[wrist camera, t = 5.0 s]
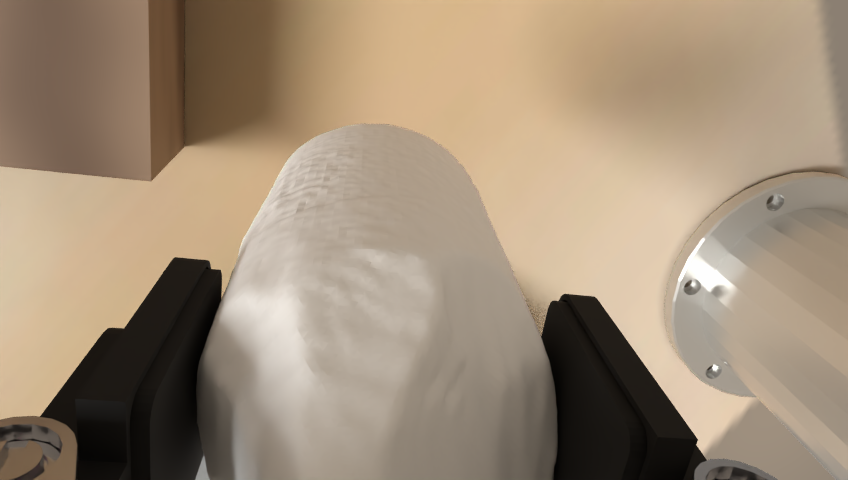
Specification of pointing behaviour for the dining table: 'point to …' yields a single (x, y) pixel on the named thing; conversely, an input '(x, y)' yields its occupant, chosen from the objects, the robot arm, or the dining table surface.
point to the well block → (92, 86)
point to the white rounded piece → (375, 328)
